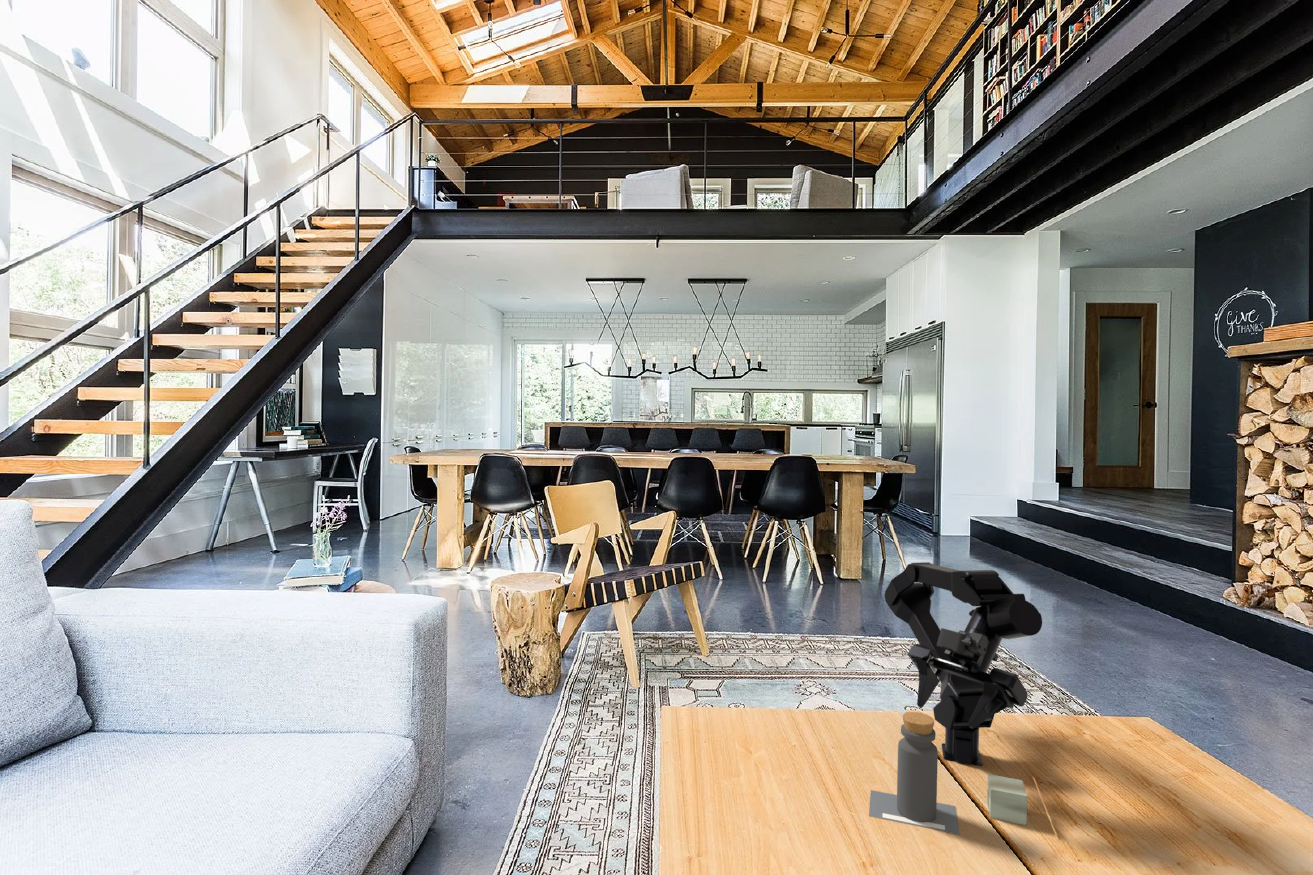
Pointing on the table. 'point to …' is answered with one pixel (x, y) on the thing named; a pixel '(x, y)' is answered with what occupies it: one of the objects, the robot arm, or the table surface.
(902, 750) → the bottle
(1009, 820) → the green block
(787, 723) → the table surface
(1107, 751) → the table surface
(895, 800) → the letter tile
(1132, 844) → the table surface
